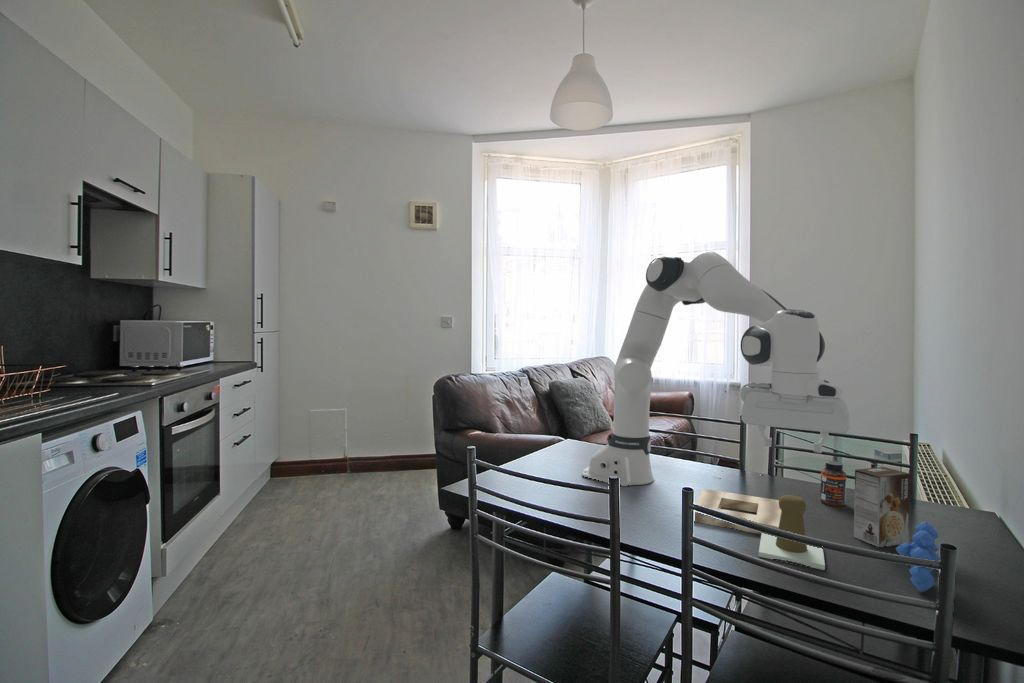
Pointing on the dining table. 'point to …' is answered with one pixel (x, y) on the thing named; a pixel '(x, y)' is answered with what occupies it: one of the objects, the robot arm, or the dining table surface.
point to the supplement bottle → (833, 484)
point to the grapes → (921, 554)
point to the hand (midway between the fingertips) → (792, 449)
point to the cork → (791, 522)
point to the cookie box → (882, 506)
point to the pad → (791, 553)
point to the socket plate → (763, 507)
